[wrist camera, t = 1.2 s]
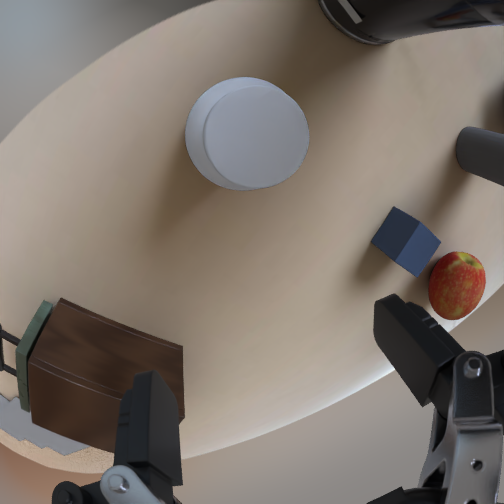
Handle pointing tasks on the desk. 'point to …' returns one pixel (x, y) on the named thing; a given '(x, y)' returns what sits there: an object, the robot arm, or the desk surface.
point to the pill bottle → (246, 134)
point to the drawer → (25, 351)
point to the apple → (456, 285)
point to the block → (406, 241)
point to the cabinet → (93, 373)
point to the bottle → (482, 153)
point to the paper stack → (33, 429)
